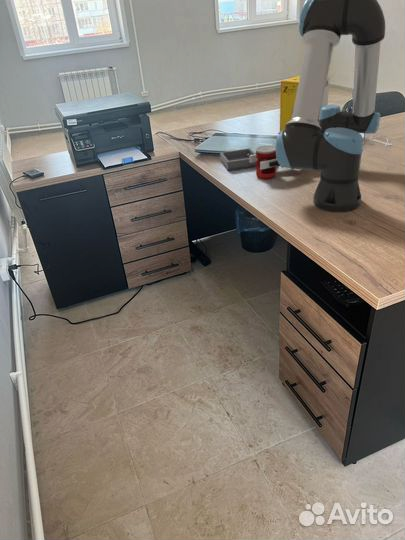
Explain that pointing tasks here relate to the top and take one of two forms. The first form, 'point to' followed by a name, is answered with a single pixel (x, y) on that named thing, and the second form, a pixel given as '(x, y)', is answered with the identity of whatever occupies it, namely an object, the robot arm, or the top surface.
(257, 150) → the canned food
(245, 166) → the charcoal bin
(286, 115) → the packaging box
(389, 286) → the top surface
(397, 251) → the top surface
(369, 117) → the robot arm
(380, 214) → the top surface
